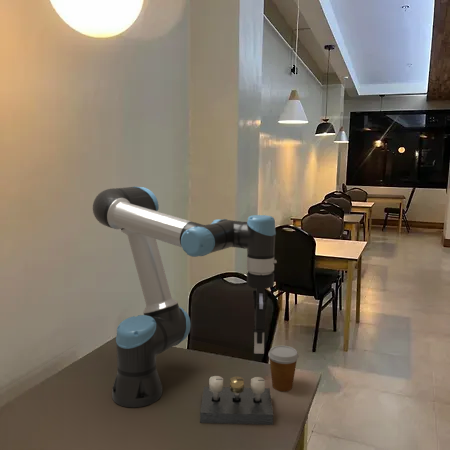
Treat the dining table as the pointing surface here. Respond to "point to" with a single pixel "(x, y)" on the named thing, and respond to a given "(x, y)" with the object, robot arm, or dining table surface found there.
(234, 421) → the mount panel
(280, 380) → the disposable coffee cup
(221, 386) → the knob
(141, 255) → the robot arm
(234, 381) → the brass pot knob
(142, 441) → the dining table surface
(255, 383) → the knob
